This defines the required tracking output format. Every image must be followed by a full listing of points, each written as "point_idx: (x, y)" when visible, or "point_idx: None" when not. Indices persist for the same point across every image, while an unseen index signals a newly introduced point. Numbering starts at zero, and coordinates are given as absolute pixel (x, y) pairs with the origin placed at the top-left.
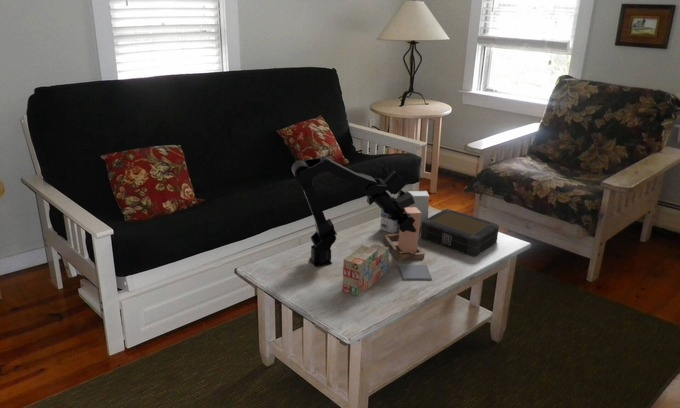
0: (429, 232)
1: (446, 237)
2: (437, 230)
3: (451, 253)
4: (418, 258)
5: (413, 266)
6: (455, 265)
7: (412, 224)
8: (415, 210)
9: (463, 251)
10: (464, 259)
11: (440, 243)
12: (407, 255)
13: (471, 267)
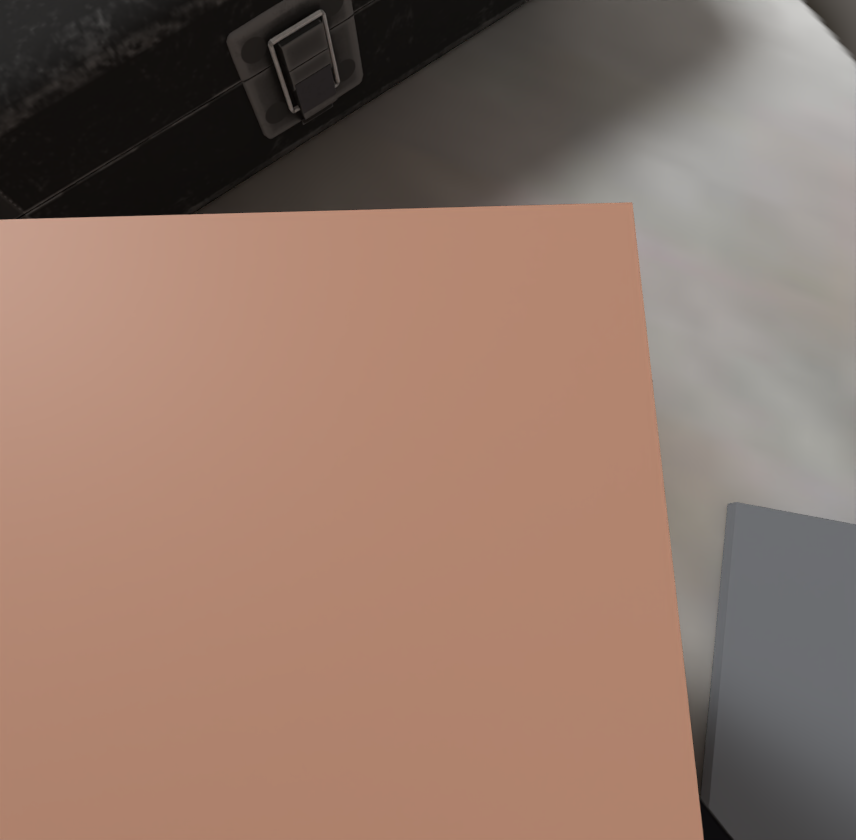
0: (70, 192)
1: (311, 45)
2: (143, 78)
3: (466, 132)
4: None
5: (771, 687)
6: (736, 192)
7: (727, 838)
8: (38, 547)
9: (496, 7)
10: (616, 62)
11: (257, 157)
12: None
13: (790, 64)
